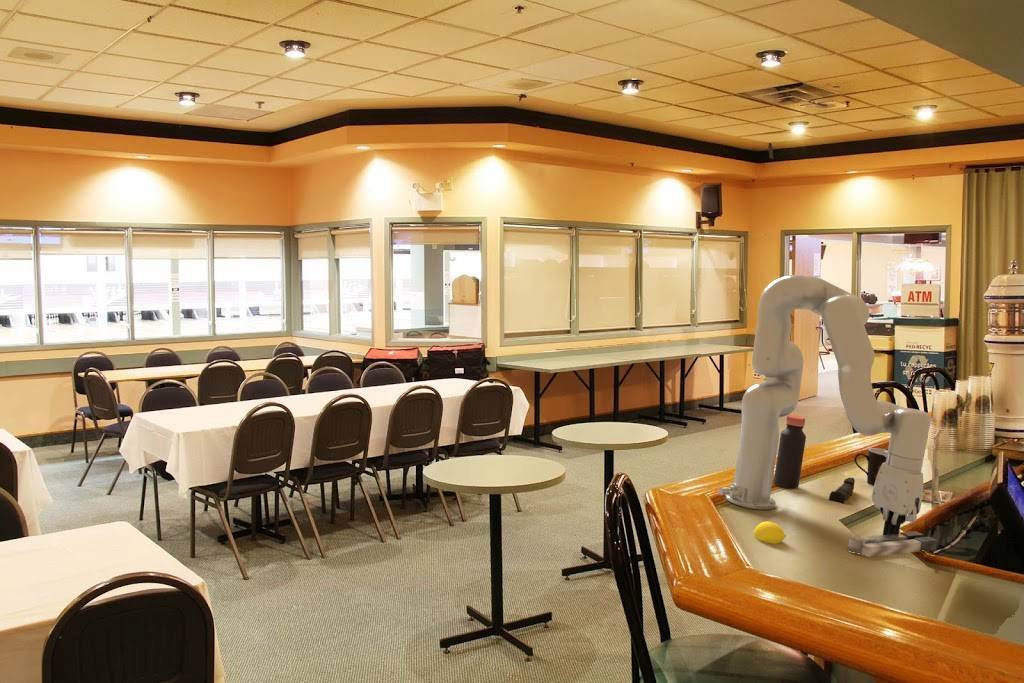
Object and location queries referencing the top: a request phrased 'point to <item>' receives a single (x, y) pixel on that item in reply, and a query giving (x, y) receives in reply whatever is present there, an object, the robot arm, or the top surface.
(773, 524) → the lemon
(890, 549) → the tongs board
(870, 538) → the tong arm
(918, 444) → the robot arm
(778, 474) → the bottle
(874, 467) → the coffee mug
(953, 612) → the top surface
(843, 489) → the hand tool
